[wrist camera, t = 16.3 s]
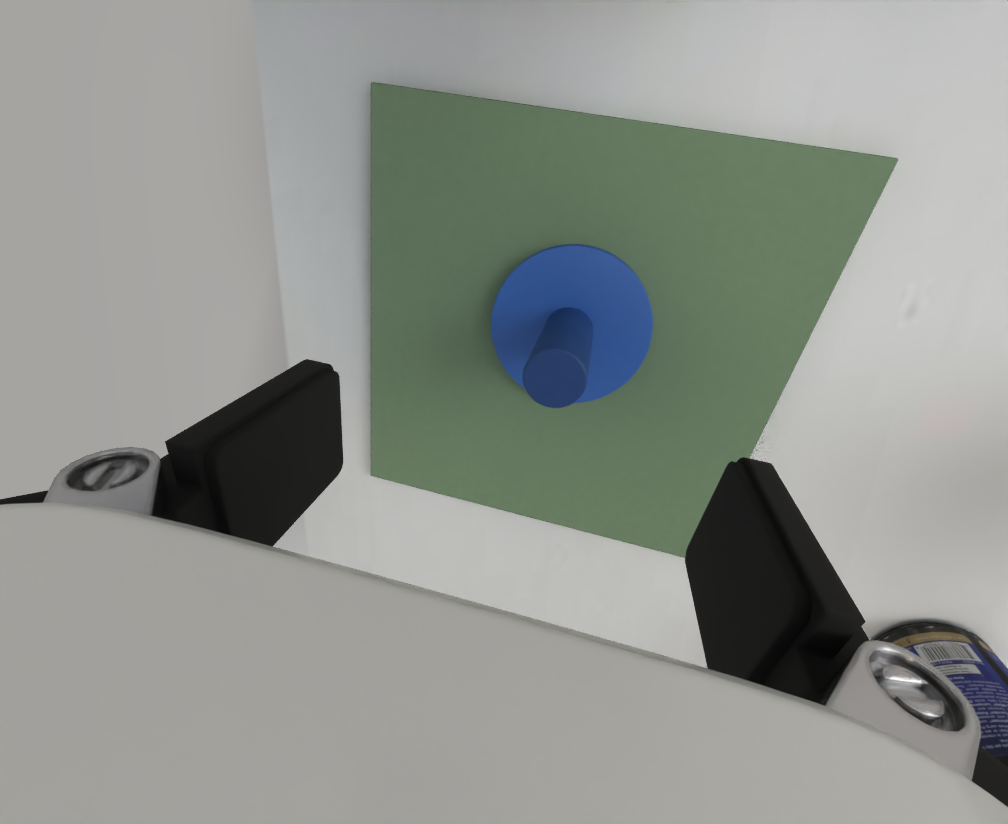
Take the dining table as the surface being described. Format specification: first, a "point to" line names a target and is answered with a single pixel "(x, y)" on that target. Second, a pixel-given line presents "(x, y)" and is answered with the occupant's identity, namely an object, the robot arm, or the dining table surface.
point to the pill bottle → (965, 674)
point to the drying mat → (635, 240)
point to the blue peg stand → (571, 324)
